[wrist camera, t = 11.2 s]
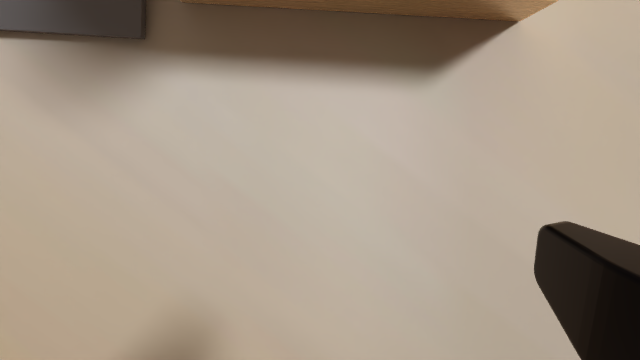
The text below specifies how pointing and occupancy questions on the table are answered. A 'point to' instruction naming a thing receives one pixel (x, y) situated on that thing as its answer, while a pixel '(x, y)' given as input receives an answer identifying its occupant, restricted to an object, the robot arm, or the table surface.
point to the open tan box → (408, 7)
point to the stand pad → (75, 17)
